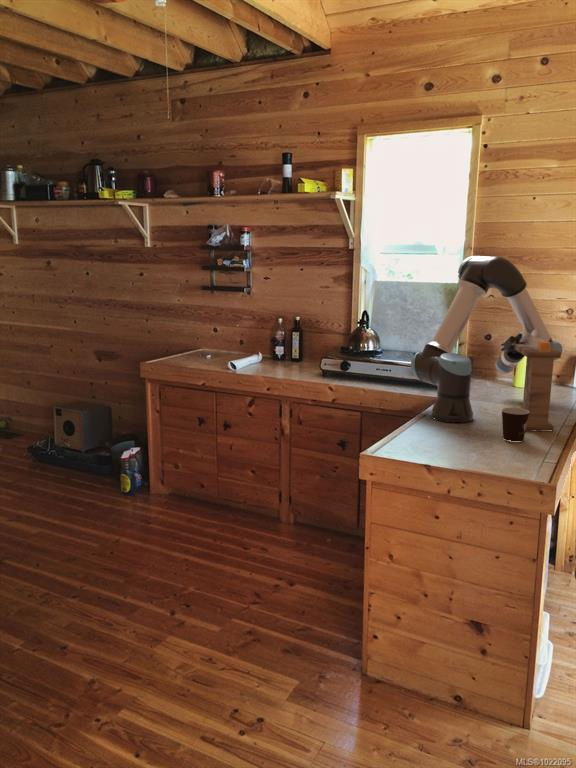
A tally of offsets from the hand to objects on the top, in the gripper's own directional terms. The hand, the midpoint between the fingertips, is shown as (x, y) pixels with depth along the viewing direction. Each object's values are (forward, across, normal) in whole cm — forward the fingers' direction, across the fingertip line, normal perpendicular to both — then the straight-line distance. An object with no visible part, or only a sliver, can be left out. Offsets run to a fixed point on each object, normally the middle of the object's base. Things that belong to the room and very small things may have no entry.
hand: (530, 332), depth 238 cm
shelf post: (-8, 0, -32) cm, 33 cm away
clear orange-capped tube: (+2, 0, -6) cm, 6 cm away
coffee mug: (+7, +10, -42) cm, 43 cm away
